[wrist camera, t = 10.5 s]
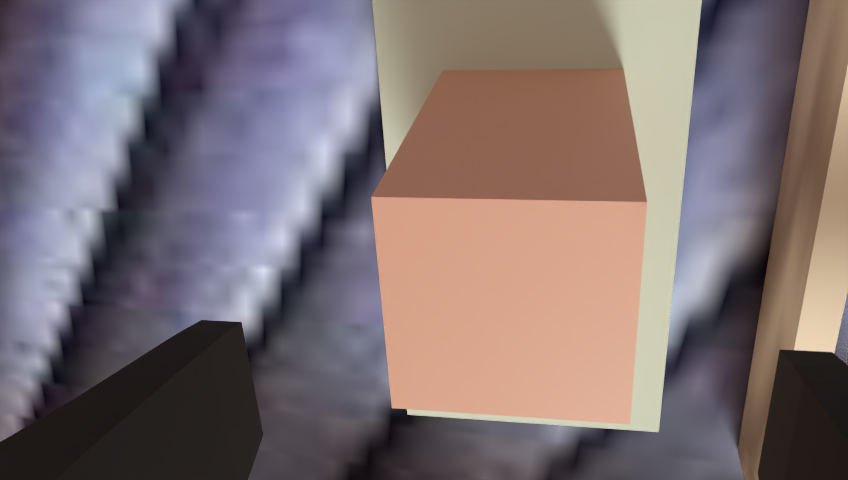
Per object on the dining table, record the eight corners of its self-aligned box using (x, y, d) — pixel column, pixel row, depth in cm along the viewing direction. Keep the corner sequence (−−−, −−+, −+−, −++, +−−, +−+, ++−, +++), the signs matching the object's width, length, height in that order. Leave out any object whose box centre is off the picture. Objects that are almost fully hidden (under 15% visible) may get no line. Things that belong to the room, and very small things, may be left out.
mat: (657, 422, 22) (658, 431, 22) (410, 405, 23) (407, 414, 23) (724, -256, 15) (726, -258, 14) (357, -226, 16) (352, -227, 16)
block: (614, 232, 19) (629, 424, 13) (449, 228, 20) (391, 408, 14) (623, 68, 17) (647, 202, 11) (442, 70, 18) (371, 196, 12)
